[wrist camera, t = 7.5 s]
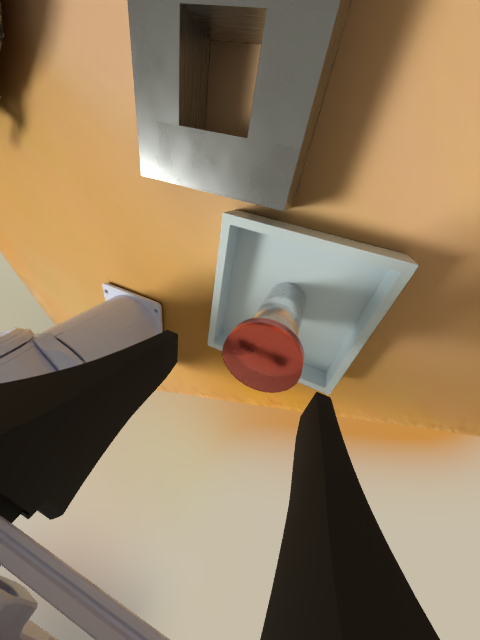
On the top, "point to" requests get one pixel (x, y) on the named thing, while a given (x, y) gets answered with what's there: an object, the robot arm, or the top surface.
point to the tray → (306, 287)
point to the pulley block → (0, 31)
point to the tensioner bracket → (268, 102)
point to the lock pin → (269, 342)
